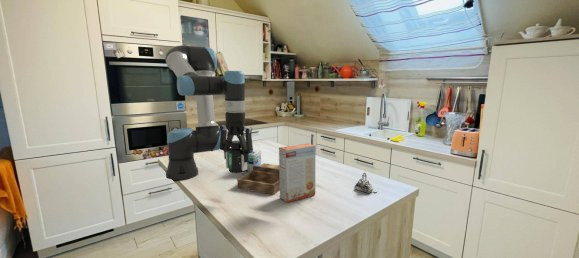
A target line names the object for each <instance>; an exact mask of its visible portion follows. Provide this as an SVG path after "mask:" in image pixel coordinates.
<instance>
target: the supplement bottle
mask: <svg viewBox="0 0 579 258" xmlns="http://www.w3.org/2000/svg"><path fill="white" fill-rule="evenodd" d="M242 154H243V151H242V148H241V145H240V142H239V140H232V141H231V142H230V149H229V150H228V168H227V169H228V172H229V173H232V174H243V172H244V171H245V170H244V171H242V156H241V155H242Z"/></svg>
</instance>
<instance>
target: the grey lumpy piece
mask: <svg viewBox="0 0 579 258" xmlns="http://www.w3.org/2000/svg"><path fill="white" fill-rule="evenodd" d="M353 189H354V190H357V191H361V192H365V193H368V194H369V193H371V192H374V193H377V192H378V190H374V187H373V185H372V184H371V182H370V181H369V180H367V173H366V172H363V173H362V175H361V178H359V179H358V181H357V183H355V185H354V188H353Z"/></svg>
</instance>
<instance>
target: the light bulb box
mask: <svg viewBox="0 0 579 258" xmlns="http://www.w3.org/2000/svg"><path fill="white" fill-rule="evenodd" d="M261 164H262V150H261V149H260V150H259V149H253V152H252V153H249V161H248V162H247V169H246V170H245V171H244V172H242V175H243V176H245V175H246V174H248V173H250V172H251V170H252V169H253V166H259V165H261Z"/></svg>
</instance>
